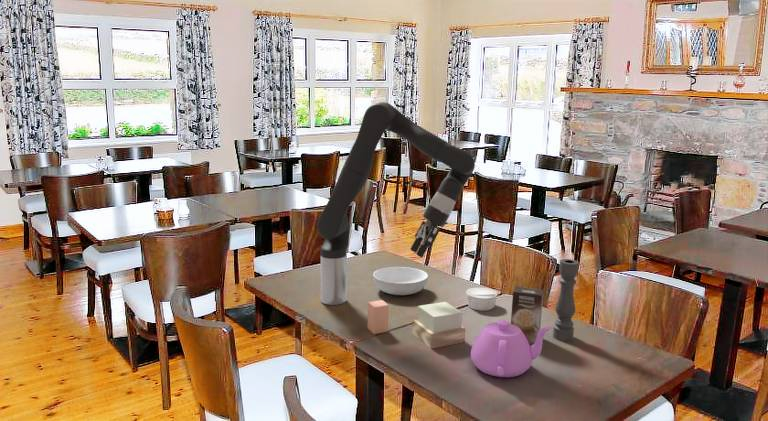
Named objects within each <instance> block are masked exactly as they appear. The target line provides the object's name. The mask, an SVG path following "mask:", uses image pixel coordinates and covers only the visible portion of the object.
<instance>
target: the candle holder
mask: <svg viewBox="0 0 768 421" xmlns="http://www.w3.org/2000/svg"><path fill="white" fill-rule="evenodd" d="M579 265H580V262H579V261H577V260H575V259H571V258H563V259H560V260H559V269H558V271H559V274H560V276H561V277H560V278H559V280H558V282H559V283H560V293H559V295H558V298H557V302H556V304H555V308H554V309H555V313H556V316H557V319H555V321H554V325H553V331H552V337H553V339H555V340H558V341H562V342H570V341H573V339H574V333H575V332H574V331H575V328H574V322H573V320H572V319H573V316H574V315H575V313H576V311H577V310H576V304H575V297H574V288H575V286H576V284H577V280H576V279H575V278H576V277H577V276H578V273H579V268H580V266H579Z"/></svg>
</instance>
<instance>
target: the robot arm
mask: <svg viewBox="0 0 768 421" xmlns="http://www.w3.org/2000/svg"><path fill="white" fill-rule="evenodd" d="M386 131H388V132H391V133H394V134H396V135H398V136H400V137H402V138H403V139H404V140H406V141H407V142H408V143H410V144H411V145H412V146H413V147H415V149H417V150H418V151H419V152H420V153H422V154H424V155H425V156H428V157H429V158H430V159H433V160H434V161H436V162H438V163H442V164H443V165H445V166H447V167H448V168H450V169H449V171H448V173H447V175H446V176H445V177H444V179H443V180H442V181H441V183H440V186H438V188H437V190H436V192H435V194H434V195H433V197H432V198H431V200H430V202H429V204H428V206H427V207H426V209H425V211H424V213H423V218H424V219H426V221H424V220H422V222H421V224H420V226H419V227H418V229H417V231H416V233H415V234H414V242H412V245H411V247H410V251H411V252H414V253H416V255H417V256H418V257H420V258H423V257H424V255H426V254H425V253H426V251H427V250H428V248H430V247H432V246H433V244H434V242H435V240H436V239H437V236H438V235H439V233H440V228H438V227H441V228H444V227H445V226H446V223H447V221H448V219H449V218H450V216H451V214H452V212H453V210H454V208H455V205H456V204H457V201H458V199H459V197H460V195H461V193H462V191H463V189H464V187H465V185H466V184H467V182H468V180H469V179H470V178H471V176H472V174H473V172H474V170H475V167H476V163H475V162H476V161H475V158H474V157H473V155H472V154H471V153H470V152H467V151H465V150H464V149H462V148H459V147H458V146H456V145H453V144H450V143H449V142H448V141H446V140H444V139H443V138H442V137H439V136H438V135H436V134H434V133H432V132H431V131H429V130H426V129H425V128H423V127H421V126H420V125H419V124H417V123H415V122H414V121H412V120H411V119H409V117H407V116H405V115H404V114H402V112H401V111H400V110H397V108H396V107H395V106H393V105H392V104H390V103H389V102H385V101H384V102H383V101H381V102H376V103H373V104H371V105H370V106H369V107H367V109H366V110H365V112H364V115H363V118H362V121H361V124H360V128H359V131H358V133H357V137H356V139H355V141H354V142H353V145H352V147H351V149H350V151H349V153H348V155H347V158H346V159H345V161H344V164H343V166H342V168H341V170H340V173H339V176H338V179H337V181H336V183H335V185H334V187H333V189H332V192H331V194H330V198H329V200H328V201H327V203H326V205H325V207H324V209H323V210H322V212H321V213H320V215H319V217H318V219H317V221H316V230H317V233H318V235H319V236H320V237H321V238H323V239H324V241H323V244H322V245H321V247H320V302H321V303H322V304H324V305H329V306H337V305H338V306H339V305H341V304H344V303H346V302H347V251H348V248H349V244H350V243H349V242H350V221H349V217H348V215H347V214H346V213H347V211H348V209H349V207H350V206H351V205H352V204H353V202H354V201H355V199H356V198H357V197H358V196H359V194H360V193H361V191H362V190H363V188H364V186H365V185H366V183H367V181H368V178H369V177H370V174H371V172H372V169H373V164H374V158H375V152H376V149H377V146H378V144H379V142H380V141H381V138H382V137H383V135H384V133H385V132H386Z"/></svg>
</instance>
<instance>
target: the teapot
mask: <svg viewBox="0 0 768 421" xmlns="http://www.w3.org/2000/svg"><path fill="white" fill-rule="evenodd" d="M552 328H553V326H551V327H550V326H548V327H547V326H546V327H542V328H540V330H539V331H538V333H537V337H536V342H535V343H532V345H530V343H528V341H527V339H526V337H525V335H524V334H523V332H522V331H521V329H520V328H519V327H517V326H515V325H513V324H511V322H510V321H508V320H506V319H499V320H497V321H496V322H491V323H488V324H486V325H484V327H483V328H482V329H481V331H479V333H478V334H477V336H476V337H475V339H474V341H473V343H472V346H471V350H470V359H471V362H472V363H473V364H474V365H475V367H477V369H478V370H479V371H481V372H482V373H483V374H487V375H489V376H493V377H497V378H515V377H519V376H521V375H523V374H524V373H526V372H527V371H528V369H530V368H531V365H532V364H533V361H534V360H536V359H537V358H538V357H539V356H540V354H541V353H542V349H543V342H544V336H545V335H546V334H547V332H549V331H550V330H552Z"/></svg>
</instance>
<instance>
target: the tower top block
mask: <svg viewBox="0 0 768 421" xmlns="http://www.w3.org/2000/svg"><path fill="white" fill-rule="evenodd" d="M417 319H418V321H419V322H420V323H421V324H422V325H424V326H425V327H426V328H428V329H429V330H430V331H432V332H433V333H434V332H440V331H446V330H451V329H457V328H461V326H463V325H462V323H463V322H462V321H463V312H462V311H461V310H459V309H458V308H456V307H455V306H453V305H451V304H450V303H448V302H447V301H441V302H436V303H429V304H421V305H418V306H417Z"/></svg>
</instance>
